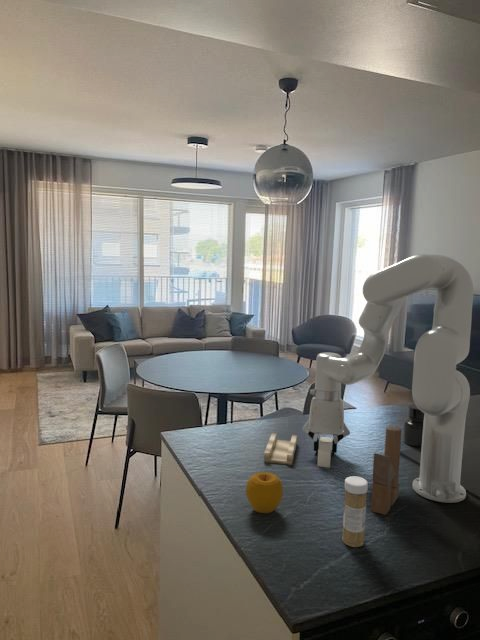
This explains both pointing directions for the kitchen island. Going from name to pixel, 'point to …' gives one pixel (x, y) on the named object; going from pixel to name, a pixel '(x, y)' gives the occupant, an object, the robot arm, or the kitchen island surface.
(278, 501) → the apple
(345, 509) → the sprinkles bottle
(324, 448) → the strip
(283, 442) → the rack
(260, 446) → the kitchen island surface
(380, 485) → the stepped wooden upright
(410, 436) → the ink bottle
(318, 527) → the kitchen island surface
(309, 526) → the kitchen island surface
